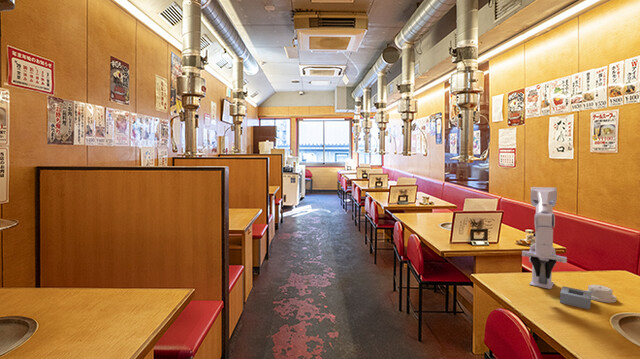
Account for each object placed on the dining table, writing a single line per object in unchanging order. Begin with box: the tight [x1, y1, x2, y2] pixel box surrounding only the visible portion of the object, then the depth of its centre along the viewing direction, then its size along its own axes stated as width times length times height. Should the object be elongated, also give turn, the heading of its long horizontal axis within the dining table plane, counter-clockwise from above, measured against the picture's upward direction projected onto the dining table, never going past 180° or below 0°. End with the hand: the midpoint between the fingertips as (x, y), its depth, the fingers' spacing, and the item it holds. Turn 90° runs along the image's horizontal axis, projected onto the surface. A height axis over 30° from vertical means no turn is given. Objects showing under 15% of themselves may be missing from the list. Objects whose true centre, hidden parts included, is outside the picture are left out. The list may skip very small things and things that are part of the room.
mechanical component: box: [585, 284, 618, 304], centre depth 132 cm, size 10×4×10 cm
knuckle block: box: [559, 285, 592, 310], centre depth 127 cm, size 9×9×4 cm
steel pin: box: [538, 260, 548, 284], centre depth 129 cm, size 3×3×9 cm
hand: (543, 277), depth 129 cm, fingers closed on steel pin, 3 cm apart
